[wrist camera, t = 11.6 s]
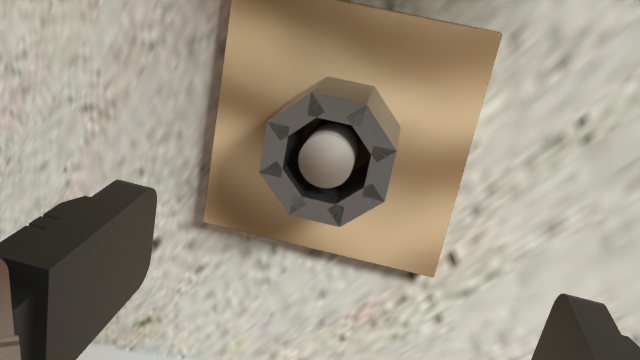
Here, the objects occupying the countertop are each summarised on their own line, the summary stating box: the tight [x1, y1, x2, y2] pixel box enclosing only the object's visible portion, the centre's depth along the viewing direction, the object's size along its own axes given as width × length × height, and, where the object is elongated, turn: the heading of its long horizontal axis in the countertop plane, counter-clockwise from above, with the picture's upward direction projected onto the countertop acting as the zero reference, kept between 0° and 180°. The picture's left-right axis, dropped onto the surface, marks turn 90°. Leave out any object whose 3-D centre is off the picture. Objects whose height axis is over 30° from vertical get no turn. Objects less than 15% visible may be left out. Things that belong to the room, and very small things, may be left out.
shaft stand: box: [203, 0, 502, 278], centre depth 31 cm, size 14×14×6 cm
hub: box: [259, 76, 401, 227], centre depth 31 cm, size 6×6×5 cm
